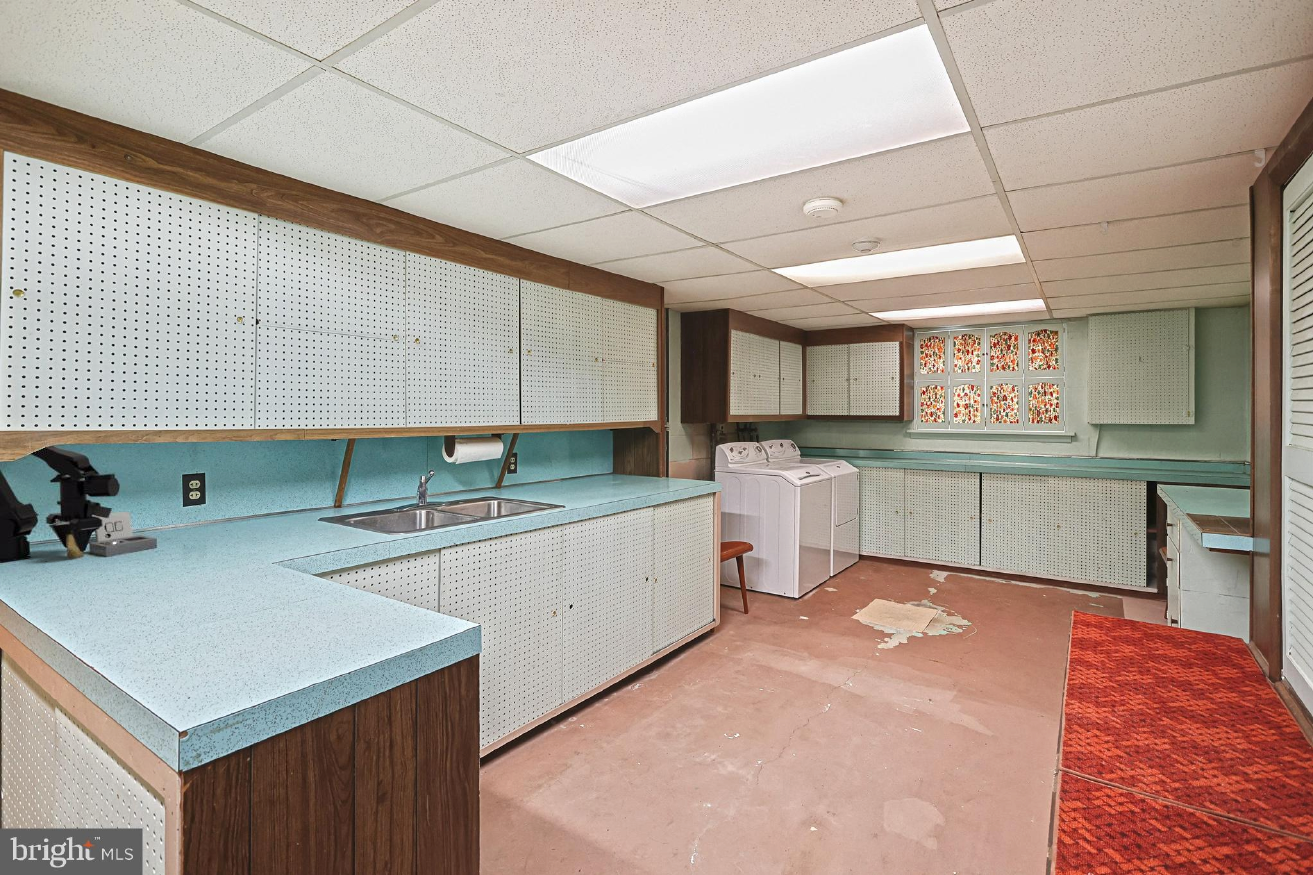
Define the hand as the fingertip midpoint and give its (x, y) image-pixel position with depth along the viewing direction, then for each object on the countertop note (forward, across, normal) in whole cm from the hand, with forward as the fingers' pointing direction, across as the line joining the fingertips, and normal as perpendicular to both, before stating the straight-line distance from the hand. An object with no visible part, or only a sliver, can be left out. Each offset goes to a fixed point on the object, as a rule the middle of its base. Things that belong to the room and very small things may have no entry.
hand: (75, 549), depth 183 cm
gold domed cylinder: (+2, 0, 0) cm, 2 cm away
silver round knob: (+2, -2, -8) cm, 9 cm away
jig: (+2, -2, -11) cm, 11 cm away
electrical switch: (+3, +17, -16) cm, 23 cm away
